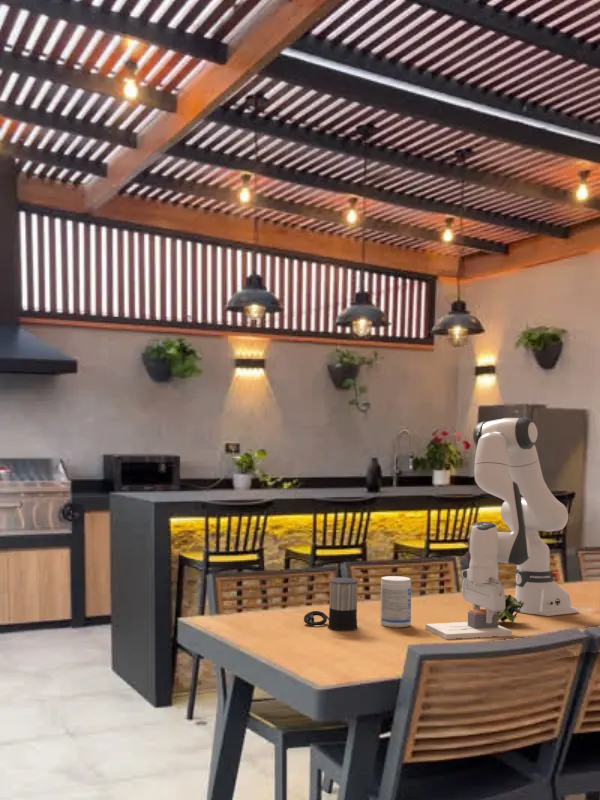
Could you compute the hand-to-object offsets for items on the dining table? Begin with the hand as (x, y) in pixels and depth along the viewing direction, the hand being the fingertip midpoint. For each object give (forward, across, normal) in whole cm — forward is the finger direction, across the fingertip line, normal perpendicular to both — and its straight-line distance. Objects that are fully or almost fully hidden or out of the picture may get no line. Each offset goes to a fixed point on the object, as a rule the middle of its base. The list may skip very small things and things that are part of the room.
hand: (483, 620), depth 258 cm
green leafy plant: (+4, +8, -13) cm, 16 cm away
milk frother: (+4, +16, +44) cm, 47 cm away
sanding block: (+2, 0, 0) cm, 2 cm away
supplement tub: (+4, +14, +23) cm, 27 cm away
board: (+3, 0, +5) cm, 6 cm away
